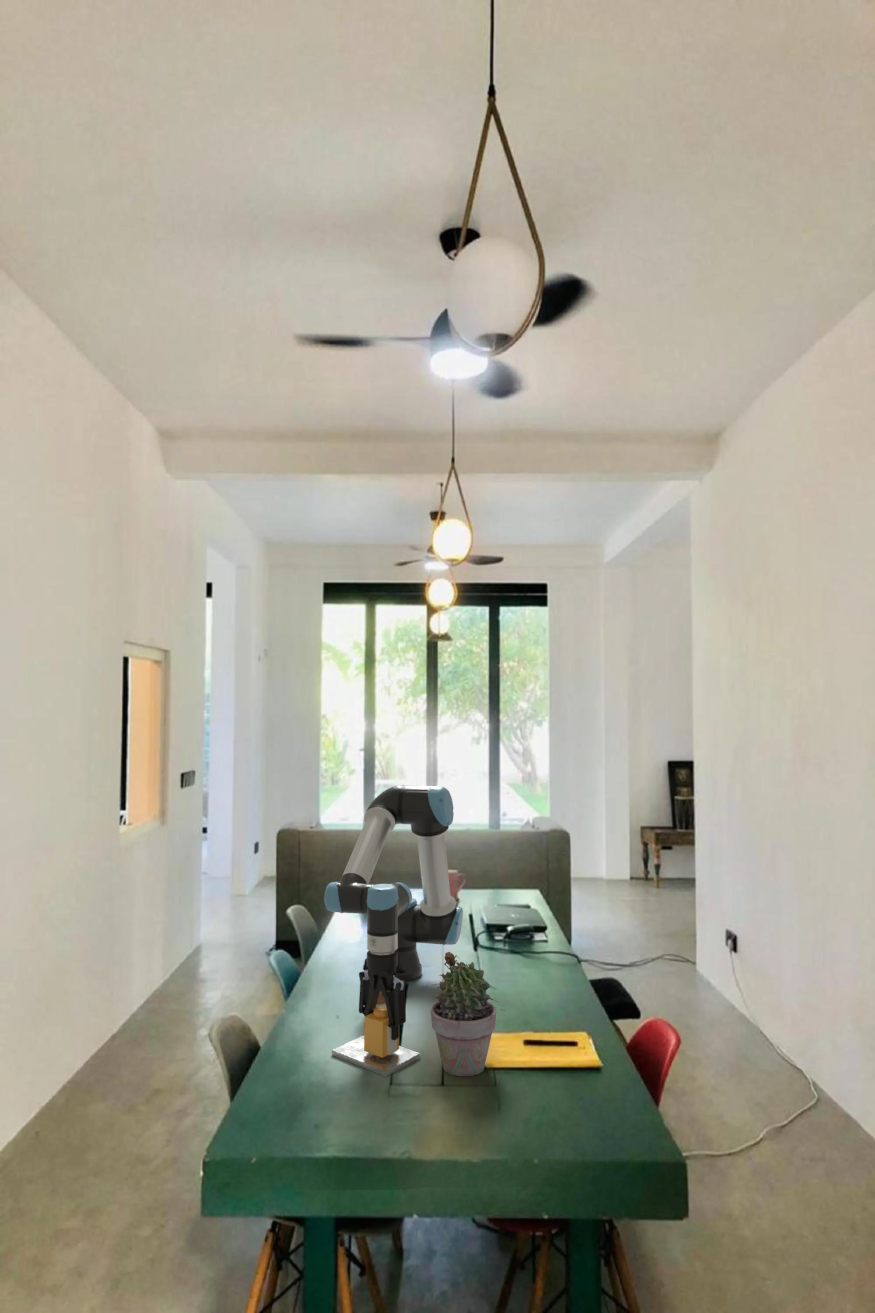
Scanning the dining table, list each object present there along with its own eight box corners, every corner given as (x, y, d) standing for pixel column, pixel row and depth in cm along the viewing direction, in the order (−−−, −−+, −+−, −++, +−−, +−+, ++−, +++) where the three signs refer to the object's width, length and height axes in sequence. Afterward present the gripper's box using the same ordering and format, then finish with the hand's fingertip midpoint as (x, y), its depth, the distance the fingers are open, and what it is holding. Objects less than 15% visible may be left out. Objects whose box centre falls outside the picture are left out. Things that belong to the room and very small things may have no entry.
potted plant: (485, 1095, 165) (484, 977, 167) (411, 1073, 175) (411, 962, 177) (521, 1063, 180) (520, 956, 182) (451, 1044, 190) (450, 943, 192)
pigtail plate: (331, 1055, 184) (332, 1029, 185) (366, 1039, 194) (366, 1014, 194) (386, 1077, 173) (386, 1048, 174) (419, 1058, 183) (419, 1032, 183)
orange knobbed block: (364, 1051, 182) (364, 1010, 183) (380, 1042, 187) (381, 1003, 187) (382, 1057, 178) (382, 1016, 179) (399, 1049, 183) (399, 1008, 184)
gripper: (343, 947, 187) (343, 1043, 185) (401, 962, 176) (400, 1065, 174) (364, 940, 193) (364, 1033, 191) (421, 954, 181) (421, 1054, 180)
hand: (381, 1048), depth 183 cm, fingers closed on orange knobbed block, 6 cm apart
